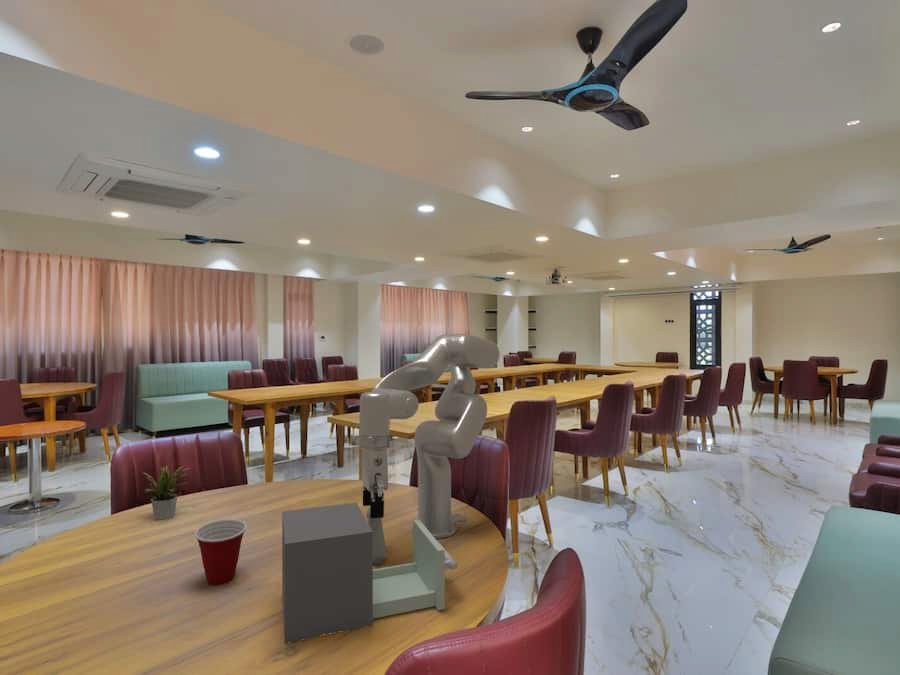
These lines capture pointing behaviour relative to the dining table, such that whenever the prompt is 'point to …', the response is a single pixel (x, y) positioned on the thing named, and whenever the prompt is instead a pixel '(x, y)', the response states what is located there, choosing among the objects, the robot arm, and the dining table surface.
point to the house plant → (164, 494)
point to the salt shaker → (377, 539)
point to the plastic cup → (220, 549)
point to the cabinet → (326, 571)
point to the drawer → (413, 578)
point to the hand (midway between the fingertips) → (372, 511)
